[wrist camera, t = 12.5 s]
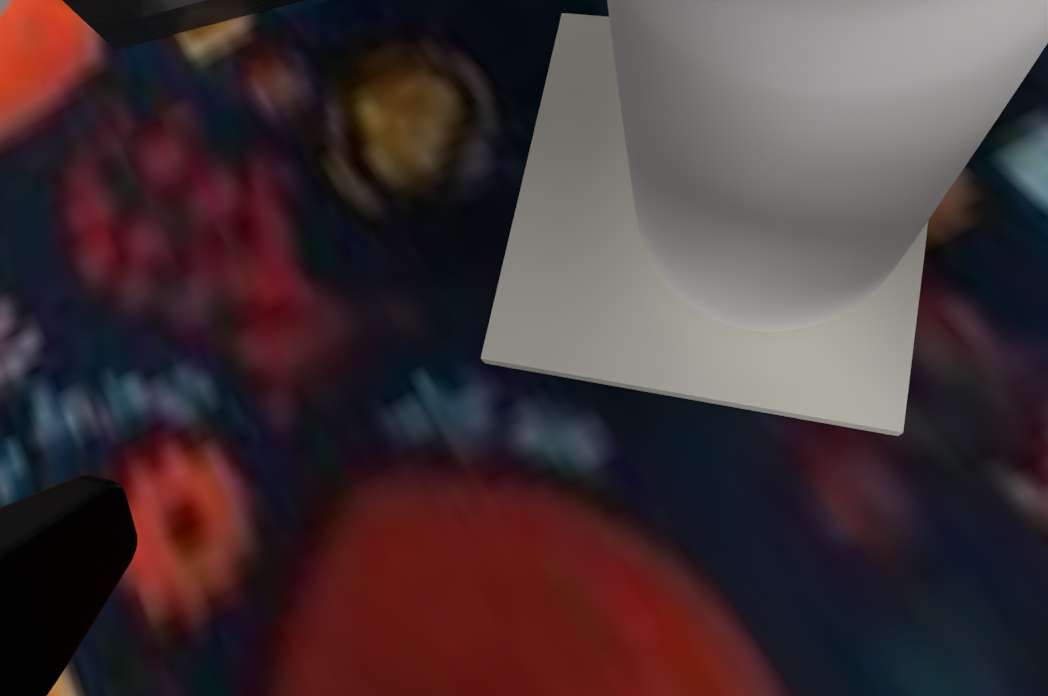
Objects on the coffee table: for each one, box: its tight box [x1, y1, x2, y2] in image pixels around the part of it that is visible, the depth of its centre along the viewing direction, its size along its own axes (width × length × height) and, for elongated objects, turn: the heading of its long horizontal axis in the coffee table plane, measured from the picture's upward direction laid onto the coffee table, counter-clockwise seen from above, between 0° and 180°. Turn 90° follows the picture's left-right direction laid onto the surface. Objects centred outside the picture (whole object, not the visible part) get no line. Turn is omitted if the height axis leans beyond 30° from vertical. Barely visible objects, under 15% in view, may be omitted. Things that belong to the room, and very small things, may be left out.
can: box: [607, 0, 1048, 332], centre depth 15 cm, size 6×6×12 cm
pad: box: [481, 13, 928, 436], centre depth 22 cm, size 10×10×1 cm
